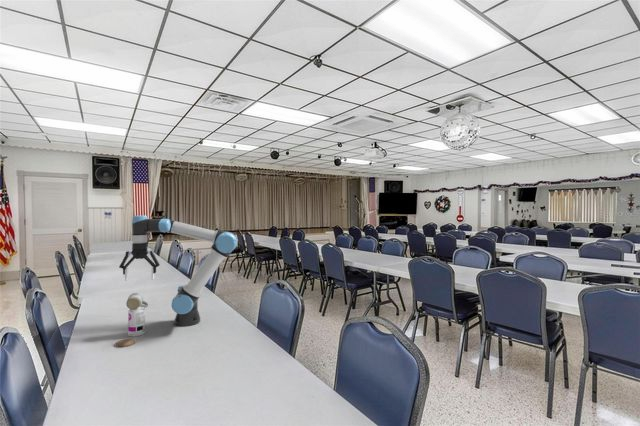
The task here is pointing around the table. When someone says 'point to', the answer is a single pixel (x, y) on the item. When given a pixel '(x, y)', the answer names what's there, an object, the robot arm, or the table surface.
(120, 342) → the walnut coaster
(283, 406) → the table surface
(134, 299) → the ceramic mug
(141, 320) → the supplement can
